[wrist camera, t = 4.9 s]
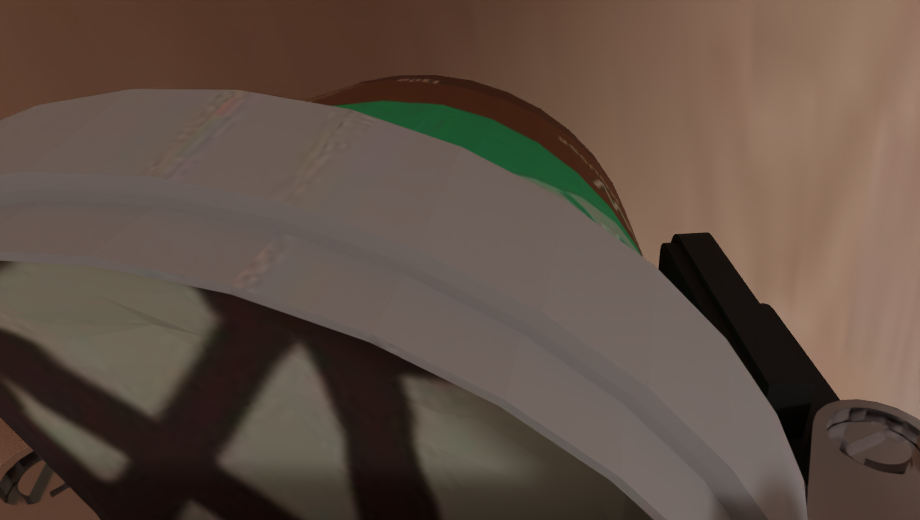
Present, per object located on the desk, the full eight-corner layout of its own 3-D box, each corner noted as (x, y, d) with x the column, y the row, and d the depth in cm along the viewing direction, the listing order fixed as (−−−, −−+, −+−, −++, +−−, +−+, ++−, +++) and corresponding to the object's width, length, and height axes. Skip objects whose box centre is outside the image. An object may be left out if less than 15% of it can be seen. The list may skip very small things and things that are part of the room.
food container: (782, 380, 15) (1088, 1027, 6) (547, 462, 17) (520, 1025, 8) (512, -143, 11) (280, -448, 2) (256, 49, 13) (-367, 270, 4)
